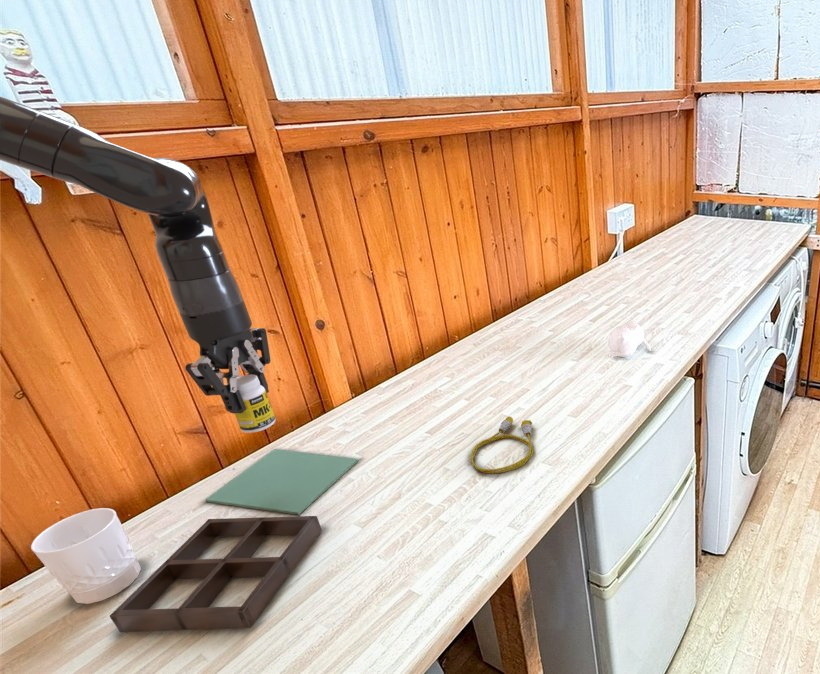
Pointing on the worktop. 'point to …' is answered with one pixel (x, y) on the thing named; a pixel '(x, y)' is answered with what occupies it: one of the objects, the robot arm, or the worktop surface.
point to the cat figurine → (626, 340)
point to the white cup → (88, 555)
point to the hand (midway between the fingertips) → (250, 402)
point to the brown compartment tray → (219, 575)
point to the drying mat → (283, 481)
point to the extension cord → (503, 427)
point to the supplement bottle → (254, 405)
